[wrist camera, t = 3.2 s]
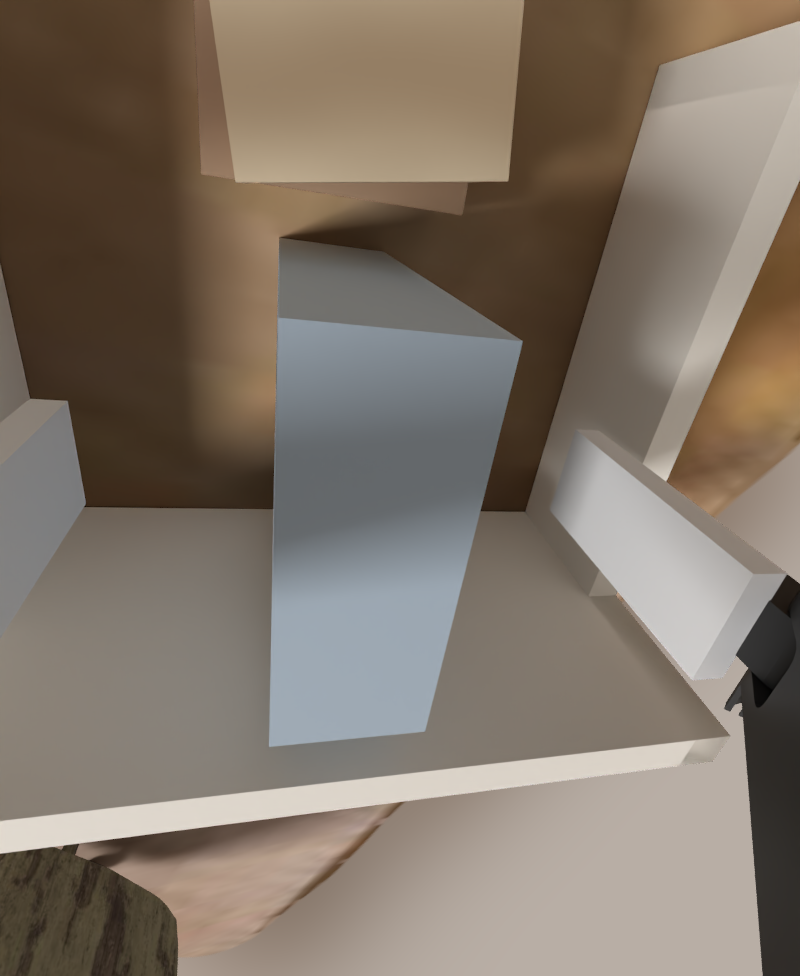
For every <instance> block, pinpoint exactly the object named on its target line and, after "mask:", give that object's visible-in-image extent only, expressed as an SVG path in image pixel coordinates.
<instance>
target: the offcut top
mask: <svg viewBox="0 0 800 976" xmlns="http://www.w3.org/2000/svg"><path fill="white" fill-rule="evenodd" d="M209 2H210V9H211V15H212V22H213V29H214V36H215V43H216V50H217V57H218V64H219V71H220V78H221V85H222V92H223V99H224V106H225V113H226V120H227V127H228V134H229V141H230V148H231V155H232V162H233V169H234V175H235V182H237V183H400V182H503V181H508V179H509V167H510V156H511V145H512V134H513V122H514V111H515V100H516V88H517V77H518V66H519V55H520V43H521V32H522V21H523V9H524V0H209Z"/></svg>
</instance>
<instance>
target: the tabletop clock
mask: <svg viewBox="0 0 800 976" xmlns="http://www.w3.org/2000/svg"><path fill="white" fill-rule="evenodd" d="M78 845H79V844H71V845H64V847H63V848H62V850H60V849H58V848H54V847H48V848H40V849H32V850H25V851H17V852H9V853H1V854H0V976H177V964H178V962H177V961H178V938H177V924H176V919H175V917H174V916H173V914H172V913H171V911H170V910H169V908H168V907H167V906H166V905H165V903H164V902H163V901H162V900H161V899H160V898H158V897H157V896H155V895H154V894H152V893H151V892H149V891H147V890H145V889H144V888H142V887H140V886H139V885H137V884H135V883H133V882H132V881H130V880H128V879H126V878H125V877H123V876H121V875H119V874H118V873H116V872H114V871H113V870H111V869H109V868H107V867H104V866H101V865H99V864H96V863H94V862H91V861H89V860H86V859H83V858H81V857H78V856H76V855H75V854H76V851H77V848H78Z"/></svg>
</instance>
